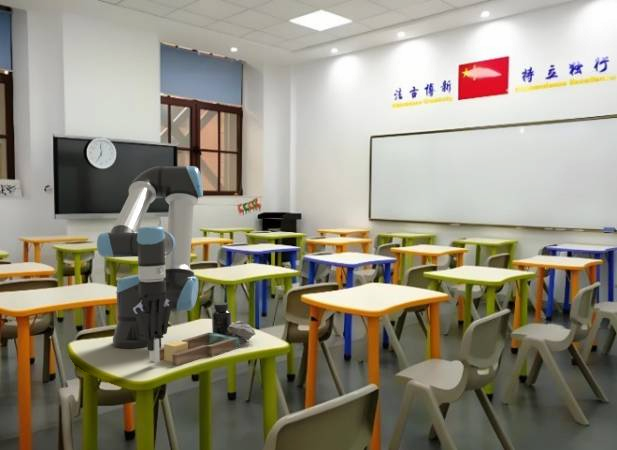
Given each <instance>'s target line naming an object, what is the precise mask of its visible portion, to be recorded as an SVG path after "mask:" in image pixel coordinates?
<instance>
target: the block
mask: <svg viewBox="0 0 617 450" xmlns="http://www.w3.org/2000/svg"><path fill="white" fill-rule="evenodd" d="M163 347H164V359H163V360H164V361H166V362H171V363H173V358H172V354H175V353H179V352H182V351H185V350H188V343H187V342H182V340H173V341H170V342H167V343H166V342H165V343H163Z"/></svg>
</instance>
